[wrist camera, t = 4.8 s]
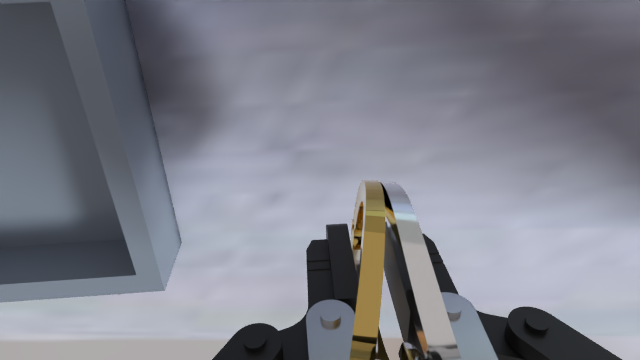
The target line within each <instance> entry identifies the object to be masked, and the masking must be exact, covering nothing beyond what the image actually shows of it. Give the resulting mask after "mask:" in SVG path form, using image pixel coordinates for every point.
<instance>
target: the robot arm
mask: <svg viewBox="0 0 640 360" xmlns="http://www.w3.org/2000/svg"><path fill="white" fill-rule="evenodd" d="M422 235H423V238H424V241H425V244H426V247H427V250H428V253H429V257H430V260H431V263H432V266H433V269H434V272H435V276H436V279H437V282H438V285H439V289H440V292H441V295H442V298H443V301H444V305H445V308H446V311H447V314H448V318H449V321H450V324H451V327H452V330H453V334H454V337H455V340H456V343H457V346H458V349H459V352H460V355H461V358H462V360H622V359H620V358H619V357H617V356H616V355H614V354H612V353H611V352H609V351H608V350H606V349H604V348H603V347H601V346H600V345H598V344H596V343H595V342H593V341H592V340H590V339H589V338H587V337H585V336H584V335H582V334H581V333H579V332H578V331H576V330H574V329H573V328H571V327H570V326H568V325H566V324H565V323H563V322H562V321H560V320H559V319H557V318H555V317H554V316H552V315H551V314H549V313H547V312H545V311H543V310H540V309H537V308H533V307H519V308H516V309H514V310H512V311H511V312H510V314H509V316H508V318H505V317H500V316H494V315H489V314H485V313H482V312H479V311H477V310H475V308H474V306H473V305H472V304H471V302H469V301H468V300H467V299H466V298H464V297H462V296H460V295H459V294H458V292H457V290H456V288H455V286H454V284H453V282H452V279H451V277H450V275H449V273H448V271H447V269H446V267H445V265H444V264H443V260H442V258H441V256H440V255H439V252H438V250H437V248H436V246H435V244H434V242H433V241H432V240H431V239H429V238H428V237H427V236H426V235H425V234H422ZM326 238H327V239H325V240H312V241H311V243H310V245H309V247H308V248H307V250H306V252H307V280H308V310H307V313H306V315H305V316H304V318H303V319H302V320H301V321H299V322H298V323H297V324H295V325H293V326H291V327H289V328H286V329H283V330H280V331H278V330H277V329H276V328H274V327H273V326H271V325H268V324H264V323H256V324H251V325H248V326H245V327H243V328H242V329H240V330H239V331H238V332H237V333H236V334H235V335H234V336H233V337H232V338H231V339H230V340H229V341H228V342H227V344H226V345H225V346H224V347H223V348H222V349H221V350H220V352H219V353H218V354H217V355H216V356H215V357H214V358H213V359H212V360H349V359H350V351H351V344H352V336H353V328H354V320H355V312H356V304H357V295H358V287H359V284H358V279H357V273H356V268H355V263H354V258H353V252H352V247H351V242H350V236H349V231H348V226H347V224H333V225H326ZM384 271H385V276H386V279H387V283H388V287H389V290H390V294H391V297H392V301H393V305H394V308H395V312H396V316H397V319H398V323H399V326H400V330H401V334H402V337H403V341H404V342H407V343H409V344H411V345H413V346H415V347H416V348H417V351H418V352H419V353H420V354H422V355H423V356H424V357H425V355H424V352H423V350H422V347H421V344H420V341H419V338H418V335H417V332H416V329H415V326H414V322H413V319H412V316H411V313H410V309H409V306H408V302H407V299H406V295H405V292H404V288H403V284H402V281H401V277H400V273H399V269H398V265H397V261H396V257H395V253H394V249H393V245H392V241H391V237H390V232H389V229H388V225H387V221H386V222H385V252H384Z"/></svg>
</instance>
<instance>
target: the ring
mask: <svg viewBox="0 0 640 360" xmlns="http://www.w3.org/2000/svg"><path fill="white" fill-rule="evenodd" d="M385 218H386V221H387V225H388V229H389V232H390V237H391V241H392V245H393V249H394V253H395V257H396V261H397V265H398V269H399V273H400V277H401V281H402V284H403V288H404V292H405V295H406V299H407V302H408V306H409V309H410V313H411V316H412V319H413V322H414V326H415V329H416V332H417V335H418V338H419V341H420V344H421V347H422V350H423V352H424V355H425V357H424V356H423V355H422V354H420V353H419V352H418V351H417V348H416V347H415V346H413V345H411V344H409V343H407V342H403V343H402V345H401V348H400V350H399V357H400V360H462V358H461V355H460V352H459V349H458V346H457V343H456V340H455V337H454V334H453V330H452V327H451V324H450V321H449V318H448V314H447V311H446V308H445V305H444V301H443V298H442V295H441V292H440V289H439V285H438V282H437V279H436V276H435V272H434V269H433V266H432V263H431V260H430V257H429V253H428V250H427V247H426V244H425V241H424V238H423V235H422V232H421V228H420V225H419V222H418V220H417V217H416V214H415V211H414V209H413V206H412V204H411V202H410V200H409V198H408V196H407V194H406V192H405V191H404V189H403V188H402V187H401V186H400V185H399V184H397V183H395V182H382V181H373V180H362V181H361V183H360V186H359V190H358V194H357V199H356V204H355V210H354V216H353V219H351V222H350V229H349V236H350V239H351V240H350V242H351V247H352V252H353V258H354V263H355V268H356V273H357V279H358V284H359V287H358V295H357V304H356V312H355V320H354V328H353V336H352V344H351V351H350V359H349V360H389V358H388V356H387V353H386V350H385V347H384V344H383V341H382V338H381V334H380V330H379V317H380V306H381V295H382V282H383V269H384V252H385Z"/></svg>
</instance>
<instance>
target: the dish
mask: <svg viewBox="0 0 640 360" xmlns="http://www.w3.org/2000/svg"><path fill="white" fill-rule="evenodd" d="M181 243H182V242H181V238H180V234H179V230H178V225H177V221H176V217H175V213H174V208H173V204H172V200H171V196H170V191H169V187H168V183H167V179H166V174H165V170H164V166H163V162H162V157H161V153H160V149H159V145H158V140H157V136H156V132H155V128H154V123H153V119H152V115H151V111H150V106H149V102H148V98H147V94H146V89H145V85H144V81H143V76H142V72H141V68H140V64H139V59H138V55H137V51H136V47H135V42H134V38H133V34H132V30H131V25H130V21H129V17H128V13H127V8H126V4H125V0H0V302H13V301H27V300H41V299H55V298H69V297H83V296H97V295H111V294H125V293H139V292H153V291H165V288H166V285H167V283H168V280H169V277H170V274H171V271H172V268H173V266H174V263H175V260H176V257H177V254H178V251H179V248H180V246H181Z"/></svg>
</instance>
